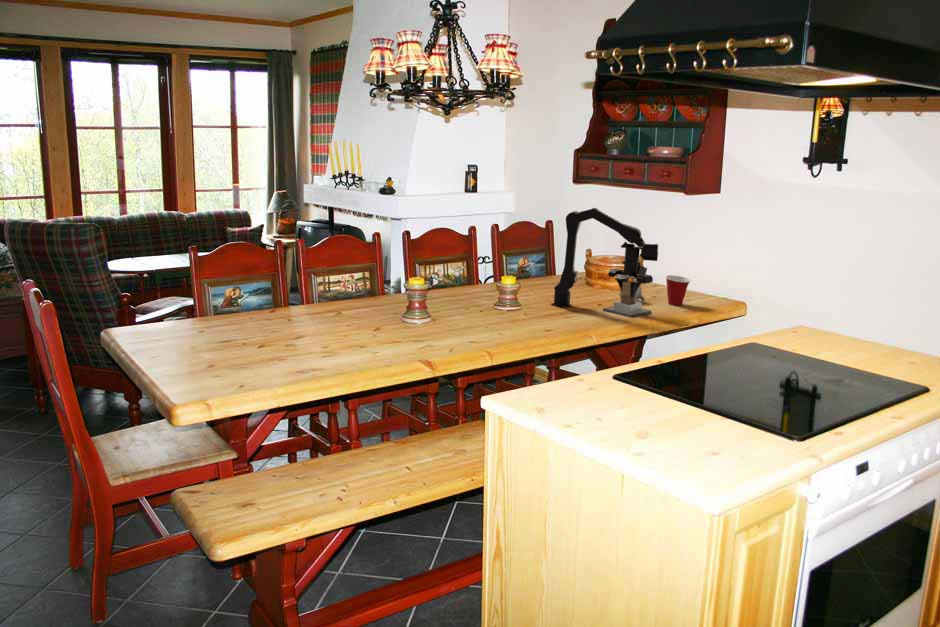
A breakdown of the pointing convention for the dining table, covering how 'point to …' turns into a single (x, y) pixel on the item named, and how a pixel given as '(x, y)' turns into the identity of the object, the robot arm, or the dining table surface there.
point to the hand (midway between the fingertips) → (628, 296)
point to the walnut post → (627, 293)
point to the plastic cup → (676, 289)
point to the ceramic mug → (637, 295)
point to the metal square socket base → (627, 309)
